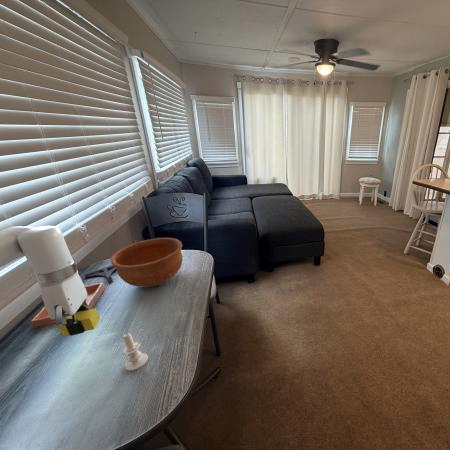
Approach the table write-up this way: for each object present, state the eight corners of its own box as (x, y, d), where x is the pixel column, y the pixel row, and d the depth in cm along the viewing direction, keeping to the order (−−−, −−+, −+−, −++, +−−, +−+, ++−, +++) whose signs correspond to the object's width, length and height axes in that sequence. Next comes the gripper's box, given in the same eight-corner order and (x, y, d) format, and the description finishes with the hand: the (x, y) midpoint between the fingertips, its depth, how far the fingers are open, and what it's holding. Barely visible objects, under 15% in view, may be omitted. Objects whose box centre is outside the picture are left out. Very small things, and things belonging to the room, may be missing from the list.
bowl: (185, 261, 117) (179, 233, 112) (192, 287, 97) (184, 254, 91) (124, 276, 106) (114, 245, 100) (117, 309, 85) (104, 273, 80)
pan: (34, 328, 77) (30, 321, 76) (61, 297, 92) (58, 290, 91) (88, 316, 82) (85, 309, 81) (105, 288, 97) (103, 282, 96)
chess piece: (130, 356, 67) (119, 327, 63) (150, 352, 68) (141, 323, 64) (121, 373, 62) (109, 343, 58) (143, 369, 63) (133, 339, 59)
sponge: (63, 336, 66) (57, 325, 64) (71, 325, 70) (66, 314, 68) (94, 329, 68) (89, 318, 67) (100, 318, 72) (95, 308, 71)
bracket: (89, 291, 96) (87, 285, 95) (85, 276, 106) (83, 271, 105) (131, 276, 105) (129, 271, 104) (123, 264, 115) (122, 259, 114)
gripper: (56, 261, 69) (78, 311, 75) (16, 295, 54) (49, 354, 60) (88, 255, 71) (107, 305, 78) (58, 287, 56) (85, 345, 63)
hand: (81, 326), depth 69 cm, fingers closed on sponge, 4 cm apart
